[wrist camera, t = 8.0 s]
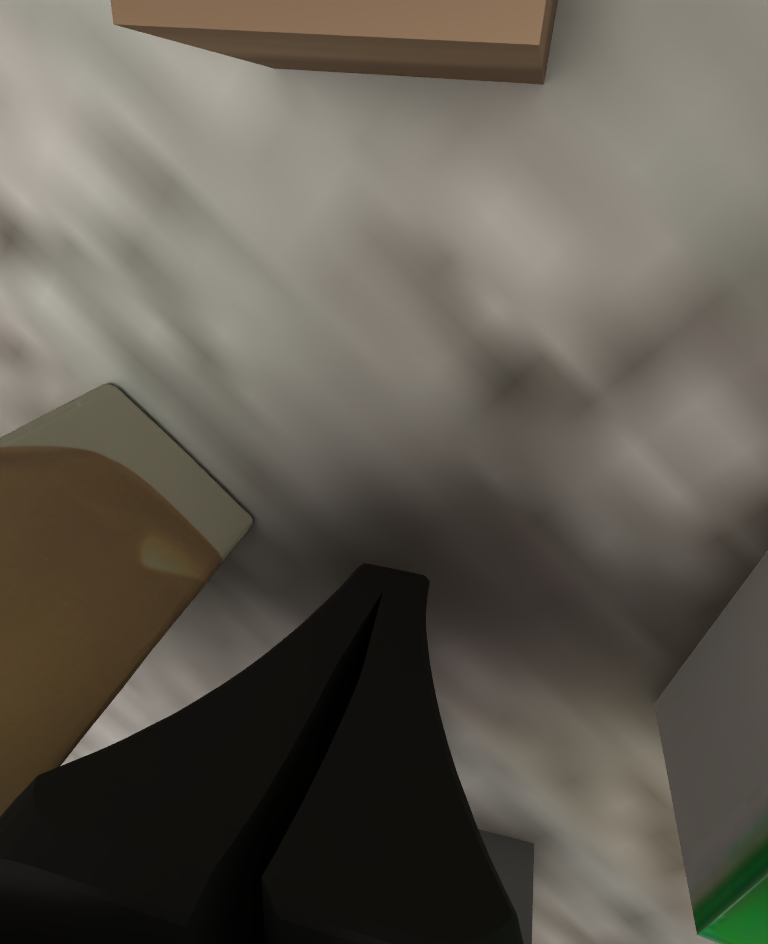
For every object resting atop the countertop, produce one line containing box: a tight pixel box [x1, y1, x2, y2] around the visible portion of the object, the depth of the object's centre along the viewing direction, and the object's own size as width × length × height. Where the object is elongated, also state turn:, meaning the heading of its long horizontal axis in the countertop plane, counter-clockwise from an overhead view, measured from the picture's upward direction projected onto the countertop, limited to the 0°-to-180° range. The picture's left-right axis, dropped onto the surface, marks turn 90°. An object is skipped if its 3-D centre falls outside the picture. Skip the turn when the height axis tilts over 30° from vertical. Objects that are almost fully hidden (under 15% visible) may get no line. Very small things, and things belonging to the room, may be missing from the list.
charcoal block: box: [479, 830, 534, 944], centre depth 16 cm, size 4×4×4 cm
